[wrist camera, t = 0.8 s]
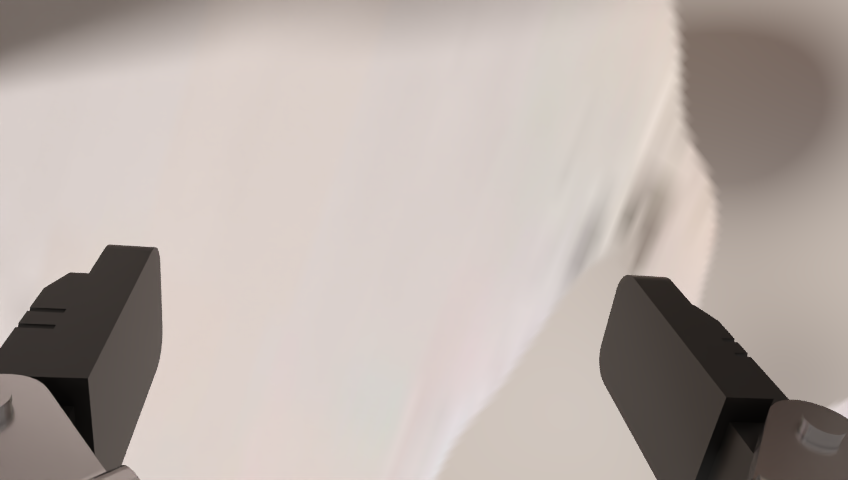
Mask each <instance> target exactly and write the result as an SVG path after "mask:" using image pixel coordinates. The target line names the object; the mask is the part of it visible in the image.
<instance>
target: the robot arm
mask: <svg viewBox="0 0 848 480" xmlns="http://www.w3.org/2000/svg"><path fill="white" fill-rule="evenodd" d="M18 324H19V325H18V327H15V329H14V330H13V331H12V333H11V334H10V336H9V337H8V338H7V340H6V341H5V342H4V344H3V345H2V347H1V348H0V480H140V479H139V478H138V476H137V475H136V474H135V473H134V471H133V470H132V469H130V468H129V467H128V466H126V465H122V462H123V459H124V457H125V454H126V451H127V448H128V446H129V443H130V440H131V438H132V435H133V432H134V429H135V427H136V424H137V421H138V419H139V416H140V413H141V410H142V408H143V405H144V402H145V400H146V397H147V394H148V392H149V389H150V386H151V383H152V381H153V378H154V375H155V373H156V370H157V367H158V363H159V359H160V353H161V346H162V303H161V273H160V256H159V251H158V249H157V248H156V247H140V246H123V245H107V246H106V248H105V249H104V251H103V252H102V254H101V255H100V257H99V258H98V260H97V262H96V263H95V265H94V266H93V268H92V269H91V271H90V273H89V274H88V273H68V274H67V275H65V276H63V277H62V278H60V279H58V280H57V281H55V282H53V283H52V284H50V285H48V286H47V287H45V288H44V289H43V290H42V292H41V293H40V294H39V296H38V297H37V298H36V300H35V301H34V303H33V304H32V305H31V307H30V311H27V312H26V314H25V315H24V316H23V318H22V319H21V320H20V322H19V323H18ZM599 363H600V373H601V377H602V380H603V382H604V384H605V386H606V388H607V390H608V391H609V393H610V395H611V397H612V399H613V401H614V402H615V404H616V406H617V408H618V409H619V411H620V413H621V415H622V417H623V419H624V421H625V422H626V424H627V426H628V428H629V430H630V431H631V433H632V435H633V436H634V439H635V441H636V442H637V444H638V446H639V448H640V450H641V451H642V453H643V455H644V457H645V459H646V461H647V462H648V464H649V466H650V468H651V470H652V471H653V473H654V475H655V477H656V479H657V480H848V419H847V418H846V417H844V416H842V415H841V414H839V413H837V412H835V411H833V410H830V409H828V408H826V407H823V406H820V405H817V404H814V403H811V402H806V401H801V400H789V399H788V398H787V397H786V396H785V395H784V394H783V392H782V391H781V390H780V389H779V388H778V387H777V386H776V385H775V384H774V382H773V381H772V380H771V379H770V378H769V377H768V376H767V375H766V374H765V372H764V371H763V370H762V369H761V368H760V367H759V366H758V365H757V363H756V362H755V361H754V360H753V359H752V358H751V357H747V352H746V351H745V350H744V349H743V348H742V347H741V346H740V345H739V344H738V343H737V342H734V338H733V337H732V336H731V335H730V333H728V331H727V330H726V329H725V328H724V327H723V326H722V324H721V323H720V322H719V321H718V320H716V319H714V318H713V317H711V316H710V315H708V314H707V313H705V312H704V311H702V310H701V309H699V308H698V307H696V306H695V305H692V304H691V303H690V302H689V301H688V299H687V298H686V297H685V296H684V295H683V294H682V293H681V291H680V290H679V289H678V288H677V287H676V286H675V284H674V283H673V282H672V281H671V280H670V279H669V278H667V277H653V276H636V275H626V276H624V277H623V278H622V279H621V281H620V282H619V284H618V287H617V290H616V294H615V298H614V301H613V305H612V309H611V312H610V316H609V319H608V323H607V327H606V330H605V334H604V337H603V341H602V345H601V349H600V357H599Z"/></svg>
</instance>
